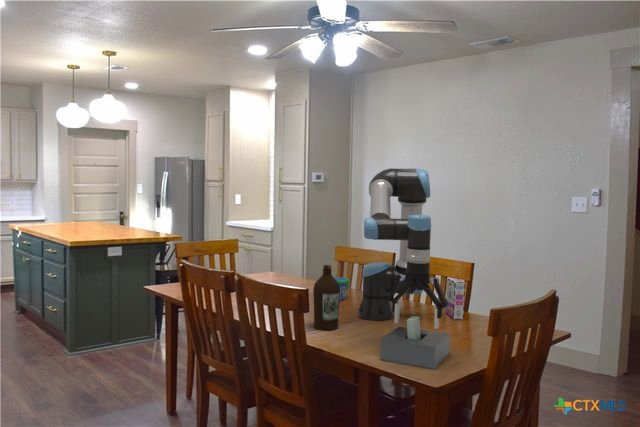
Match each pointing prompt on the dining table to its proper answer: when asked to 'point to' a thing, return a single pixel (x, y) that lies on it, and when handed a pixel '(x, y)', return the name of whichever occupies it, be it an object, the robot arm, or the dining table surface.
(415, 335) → the pale green flat block
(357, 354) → the dining table surface
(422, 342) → the grey slotted box
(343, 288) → the snack cup
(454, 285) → the candy bar box
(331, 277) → the olive oil
